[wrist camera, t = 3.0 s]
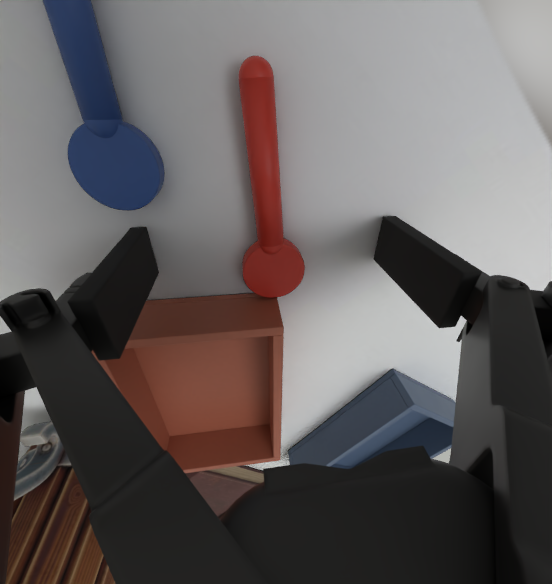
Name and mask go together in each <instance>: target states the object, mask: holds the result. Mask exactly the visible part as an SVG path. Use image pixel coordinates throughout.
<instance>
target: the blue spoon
mask: <svg viewBox="0 0 552 584" xmlns="http://www.w3.org/2000/svg"><path fill="white" fill-rule="evenodd" d="M43 3H44V6H45V9H46V12H47V15H48V18H49V21H50V23H51V26H52V29H53V32H54V35H55V38H56V41H57V44H58V47H59V50H60V53H61V56H62V59H63V62H64V65H65V68H66V71H67V74H68V77H69V80H70V83H71V86H72V89H73V92H74V95H75V98H76V101H77V104H78V107H79V109H80V112H81V115H82V118H83V121H84V124H82V125H81V126H79V127H78V128H77V129H76V130H75V132H74V133H73V134H72V136H71V139H70V141H69V145H68V160H69V164H70V168H71V170H72V173H73V175H74V177H75V178H76V180H77V182H78V183H79V184H80V186H81V187H82V188H83V189H84V190H85V191H86V192H87V193H88V194H89V195H90V196H91V197H92V198H94V199H95V200H97V201H98V202H100V203H102V204H104V205H106V206H108V207H111V208H114V209H118V210H135V209H139V208H142V207H144V206H146V205H147V204H149V203H150V202H151V201H152V200H153V199H154V198H155V196H156V195H157V194H158V193H159V191H160V190H161V188H162V185H163V181H164V166H163V162H162V159H161V156H160V154H159V152H158V150H157V148H156V147H155V145H154V144H153V142H152V141H151V140H150V139H149V138H148V137H147V136H146V135H145V134H144V133H143V132H142V131H141V130H139V129H138V128H136V127H135V126H133V125H131V124H129V123H127V122H124V121H123V120H122V116H121V112H120V108H119V105H118V101H117V97H116V93H115V90H114V86H113V82H112V78H111V75H110V71H109V67H108V63H107V60H106V56H105V52H104V49H103V45H102V41H101V37H100V34H99V30H98V26H97V22H96V19H95V15H94V11H93V7H92V4H91V0H43Z"/></svg>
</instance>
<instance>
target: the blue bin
mask: <svg viewBox="0 0 552 584" xmlns="http://www.w3.org/2000/svg"><path fill="white" fill-rule="evenodd" d="M455 405H456V403H455V402H454V400H453V399H451V398H449V397H447V396H445V395H443V394H441V393H439V392H437V391H435V390H433V389H431V388H429V387H427V386H425V385H423V384H422V383H420V382H418V381H416V380H414V379H412V378H410V377H408V376H406V375H404V374H402V373H400V372H398V371H396V370H394V369H392V370H391V371H389V372H388V373H387V374H386V375H384V376H383V377H382V378H380V379H379V380H378V381H377V382H375V383H374V384H373V385H372V386H370V387H369V388H368V389H366V390H365V391H364V392H363V393H361V394H360V395H359V396H357V397H356V398H355V399H354V400H352V401H351V402H350V403H349V404H347V405H346V406H345V407H343V408H342V409H341V410H340V411H338V412H337V413H336V414H335V415H333V416H332V417H331V418H329V419H328V420H327V421H326V422H324V423H323V424H322V425H321V426H319V427H318V428H317V429H315V430H314V431H313V432H312V433H310V434H309V435H308V436H306V437H305V438H304V439H303V440H301V441H300V442H299V443H298V444H296V445H295V446H294V447H292V448H291V449H290V450H289V451H288V455H289V461H290V465H295V464H301V463H308V464H315V465H322V466H330V467H337V468H344V469H350V468H354V467H356V466H358V465H359V464H361V463H363V462H365V461H367V460H369V459H371V458H373V457H375V456H377V455H379V454H381V453H383V452H385V451H389V450H396V449H402V448H409V447H416V446H424V448H425V450H426V451H427V453H428V455H429V457H430V458H431V459H432V458H434V457H436V456H437V455H439V454H441V453H443V452H445V451H446V450H448V449H450V448H451V446H452V436H453V426H454V416H455Z"/></svg>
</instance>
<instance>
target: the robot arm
mask: <svg viewBox="0 0 552 584" xmlns="http://www.w3.org/2000/svg"><path fill="white" fill-rule="evenodd" d="M374 260H375V261H376V262H377V263H378V264H379V265H380V267H381V268H382V269H383V270H384V271H385V272H386V273H387V274H388V275H389V276H390V277H391V278H392V279H393V280H394V281H395V282H396V283H397V284H398V285H399V286H400V288H401V289H402V290H403V291H404V292H405V293H406V294H407V295H408V296H409V297H410V298H411V299H412V300H413V301H414V302H415V303H416V304H417V305H418V306H419V307H420V309H421V310H422V311H423V312H424V313H425V314H426V315H427V316H428V317H429V318H430V319H431V320H432V321H433V322H434V323H435V324H436V325H437V326H438V327H439V328H446V327H455V326H456V324H457V322H458V320H459V318H460V316H463V317H464V318H465V319H466V320H467V321H466V323H465V325H464V327H463V329H462V331H461V333H460V335H459V337H458V339H457V341H458V342H460V340H461V339H462V344H461V355H460V365H459V375H458V385H457V395H456V405H455V416H454V426H453V436H452V446H451V456H450V461H449V464H448V463H445V462H442V461H438V460H434V459H431V458H430V457H429V455H428V453H427V451H426V450H425V448H424V446H416V447H409V448H402V449H396V450H389V451H385V452H383V453H381V454H379V455H377V456H375V457H373V458H371V459H369V460H367V461H365V462H363V463H361V464H359V465H358V466H356V467H354V468H350V469H344V468H337V467H330V466H322V465H315V464H308V463H301V464H295V465H288V466H281V467H274V468H268V469H263V473H264V482H262V483H260V484H258V485H256V486H254V487H253V488H251V489H250V490H248V491H247V492H245V493H244V494H243V495H242V496H240V497H239V498H238V499H237V500H236V501H235V502H234V503H233V504H232V505H231V506H230V507H229V509H228V510H227V511H226V512H225V514H224V515H223V516H222V518H221V519H219V518H218V517H217V515H216V514H215V513H214V511H213V510H212V509H211V507H210V506H209V505H208V503H207V502H206V501H205V499H204V498H203V497H202V495H201V494H200V493H199V491H198V490H197V489H196V487H195V486H194V485H193V483H192V482H191V481H190V479H189V478H188V477H187V475H186V474H185V473H184V471H183V470H182V469H181V467H180V466H179V465H178V463H177V462H176V461H175V459H174V458H173V457H172V456H171V454H170V453H169V452H168V451H167V450H163V449H162V447H161V446H160V445H159V443H158V442H157V441H156V439H155V438H154V437H153V435H152V434H151V433H150V431H149V430H148V429H147V427H146V426H145V424H144V423H143V422H142V420H141V419H140V418H139V416H138V415H137V414H136V412H135V411H134V410H133V408H132V407H131V406H130V404H129V403H128V401H127V400H126V399H125V397H124V396H123V395H122V393H121V392H120V391H119V389H118V388H117V387H116V385H115V384H114V382H113V381H112V380H111V378H110V377H109V376H108V374H107V373H106V372H105V370H104V369H103V368H102V366H101V365H100V363H99V362H98V361H101V360H112V359H120V358H121V355H122V353H123V351H124V349H125V346H126V344H127V342H128V340H129V338H130V335H131V333H132V331H133V329H134V327H135V324H136V322H137V320H138V318H139V315H140V313H141V311H142V309H143V307H144V304H145V302H146V300H147V298H148V296H149V293H150V291H151V289H152V287H153V284H154V282H155V280H156V278H157V276H158V273H159V271H158V268H157V264H156V261H155V257H154V253H153V250H152V246H151V243H150V239H149V235H148V232H147V228H146V227H139V228H130V230H129V231H128V232H127V233H126V234H125V235H124V236H123V238H122V239H121V240H120V241H119V242H118V243H117V245H116V246H115V247H114V248H113V249H112V250H111V252H110V253H109V254H108V255H107V256H106V257H105V258H104V260H103V261H102V262H101V263H100V264H99V265H98V267H97V268H96V269H95V270H94V271H93V272H92V273H86V274H84V275H83V276H81V277H79V278H78V279H76V280H75V281H74V282H73V283H72V285H71V286H70V288H68V289H67V290H66V291H65V292H64V294H62V295H61V296H60V297H59V299H58V300H57V301H55V300H54V298H53V296H52V294H51V293H50V291H48V290H47V289H40V288H38V289H30V290H26V291H22V292H19V293H16V294H14V295H11V296H9V297H7V298H6V299H4V300H2V301H1V302H0V316H1V317H2V319H3V320H4V322H5V323H6V324H7V326H8V327H9V328H10V330H11V331H12V332H9V333H5V334H1V335H0V584H6V574H7V564H8V554H9V544H10V534H11V524H12V514H13V504H14V494H15V484H16V474H17V465H18V455H19V445H20V435H21V425H22V415H23V405H24V395H25V390H28V389H31V388H34V387H37V389H38V391H39V394H40V396H41V398H42V400H43V403H44V405H45V407H46V409H47V411H48V414H49V416H50V418H51V420H52V423H53V425H54V427H55V429H56V432H57V434H58V436H59V438H60V441H61V443H62V445H63V447H64V449H65V452H66V454H67V456H68V458H69V461H70V463H71V465H72V467H73V470H74V472H75V474H76V476H77V479H78V481H79V483H80V485H81V487H82V490H83V492H84V494H85V496H86V499H87V501H88V503H89V506H90V508H91V513H90V515H89V519H90V524H91V526H92V529H93V532H94V534H95V537H96V539H97V541H98V544H99V546H100V548H101V551H102V553H103V555H104V558H105V560H106V562H107V565H108V567H109V569H110V572H111V574H112V576H113V579H114V581H115V583H116V584H552V281H550V282H549V284H548V285H547V287H546V288H545V289H544V291H535V290H530V289H529V287H528V286H527V285H526V284H525V283H523V282H521V281H519V280H517V279H514V278H511V277H507V276H501V275H494V276H489V275H487V274H485V273H484V272H482V271H481V270H479V269H478V268H476V267H475V266H473V265H471V264H470V263H468V262H467V261H464V259H462V258H461V257H459V256H457V255H456V254H453V253H452V252H450V251H449V250H447V249H446V248H444V247H443V246H441V245H440V244H438V243H436V242H435V241H433V240H432V239H430V238H429V237H427V236H426V235H424V234H422V233H421V232H419V231H418V230H416V229H415V228H413V227H412V226H410V225H409V224H407V223H405V222H404V221H402V220H401V219H399V218H398V217H396V216H388V217H383V220H382V224H381V229H380V233H379V237H378V242H377V246H376V251H375V255H374ZM92 350H93V351H94V353H95V355H96V357H97V359H98V361H97V359H96V358H95V357H94V355H93V354H92V353H91V352H92Z"/></svg>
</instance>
